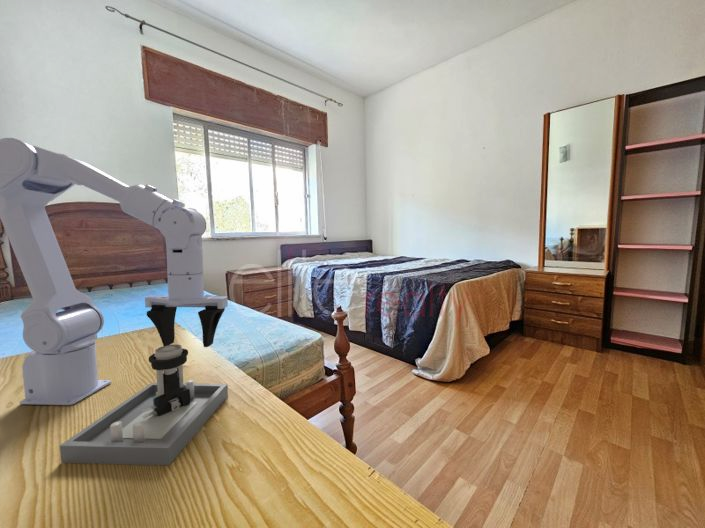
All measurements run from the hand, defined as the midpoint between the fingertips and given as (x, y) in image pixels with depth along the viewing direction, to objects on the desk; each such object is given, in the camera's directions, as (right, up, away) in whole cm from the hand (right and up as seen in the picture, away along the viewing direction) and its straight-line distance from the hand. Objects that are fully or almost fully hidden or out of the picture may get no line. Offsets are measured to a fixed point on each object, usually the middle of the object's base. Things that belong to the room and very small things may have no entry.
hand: (188, 344), depth 54 cm
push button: (+1, -9, -8) cm, 12 cm away
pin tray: (+1, -9, -10) cm, 14 cm away
